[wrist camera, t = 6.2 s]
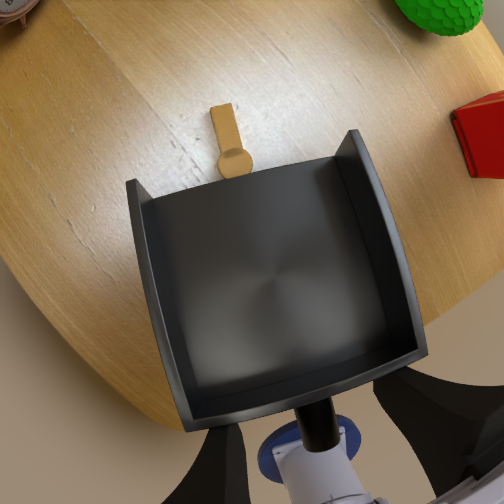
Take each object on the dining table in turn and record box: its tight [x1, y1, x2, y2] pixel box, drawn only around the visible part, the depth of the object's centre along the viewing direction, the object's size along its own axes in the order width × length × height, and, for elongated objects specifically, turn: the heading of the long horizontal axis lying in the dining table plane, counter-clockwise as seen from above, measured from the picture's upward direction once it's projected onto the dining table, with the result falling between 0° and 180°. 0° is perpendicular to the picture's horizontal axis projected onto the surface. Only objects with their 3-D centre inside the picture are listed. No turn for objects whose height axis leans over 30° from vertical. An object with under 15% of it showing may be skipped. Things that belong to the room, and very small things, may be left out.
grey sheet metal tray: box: [126, 129, 428, 453], centre depth 12 cm, size 13×10×3 cm
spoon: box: [210, 103, 253, 179], centre depth 19 cm, size 5×2×1 cm, turn 14°
